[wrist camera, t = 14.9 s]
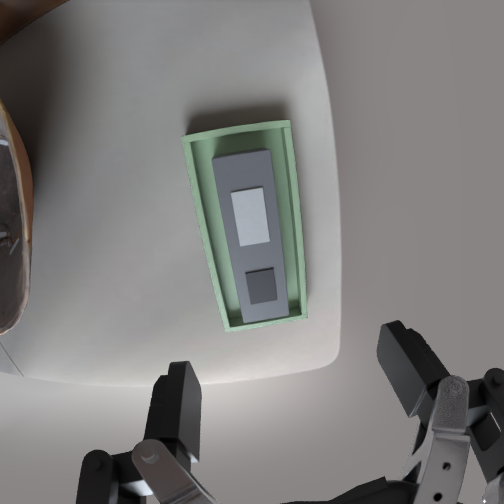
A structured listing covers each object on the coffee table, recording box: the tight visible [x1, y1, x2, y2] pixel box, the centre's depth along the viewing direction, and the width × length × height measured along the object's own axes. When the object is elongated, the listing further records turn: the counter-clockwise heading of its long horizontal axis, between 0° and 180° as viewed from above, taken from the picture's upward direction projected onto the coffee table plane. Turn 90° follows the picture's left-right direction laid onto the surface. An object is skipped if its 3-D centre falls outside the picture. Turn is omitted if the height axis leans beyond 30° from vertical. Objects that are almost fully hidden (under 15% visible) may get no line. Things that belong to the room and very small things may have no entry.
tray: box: [182, 119, 308, 332], centre depth 25 cm, size 19×9×2 cm, turn 8°
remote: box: [211, 148, 289, 323], centre depth 24 cm, size 15×4×3 cm, turn 8°
